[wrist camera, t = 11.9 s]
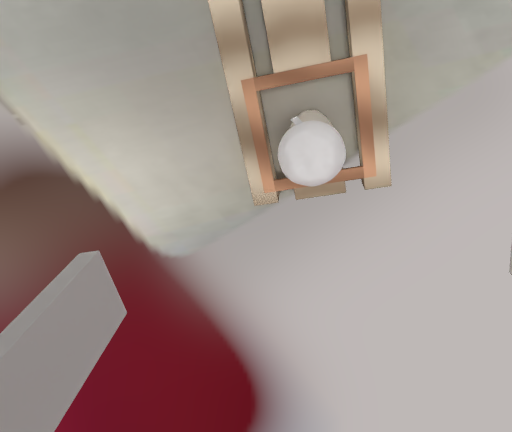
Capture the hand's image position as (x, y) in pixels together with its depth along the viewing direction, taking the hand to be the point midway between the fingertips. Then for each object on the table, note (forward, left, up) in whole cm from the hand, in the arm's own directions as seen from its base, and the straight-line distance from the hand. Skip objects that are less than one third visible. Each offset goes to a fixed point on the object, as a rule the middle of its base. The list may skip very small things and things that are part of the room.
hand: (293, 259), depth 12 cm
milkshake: (+1, +1, -23) cm, 23 cm away
